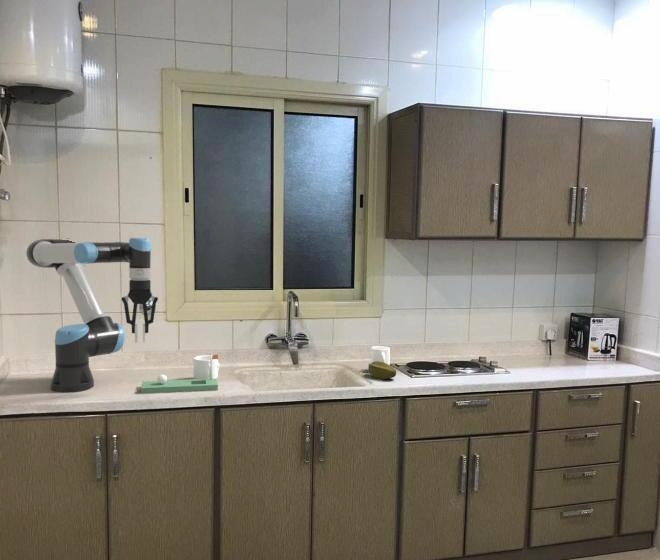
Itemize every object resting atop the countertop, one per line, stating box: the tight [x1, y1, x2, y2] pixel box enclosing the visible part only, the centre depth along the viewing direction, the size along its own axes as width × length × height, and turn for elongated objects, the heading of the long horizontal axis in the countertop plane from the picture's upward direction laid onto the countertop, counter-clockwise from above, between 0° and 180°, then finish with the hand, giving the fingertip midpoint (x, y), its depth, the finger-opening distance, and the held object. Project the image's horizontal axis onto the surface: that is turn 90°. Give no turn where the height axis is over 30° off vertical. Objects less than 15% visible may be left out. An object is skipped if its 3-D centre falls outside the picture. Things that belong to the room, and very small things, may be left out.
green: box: [140, 354, 219, 394], centre depth 229 cm, size 29×10×12 cm, turn 105°
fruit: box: [367, 361, 397, 380], centre depth 254 cm, size 11×12×7 cm
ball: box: [156, 374, 168, 384], centre depth 227 cm, size 4×4×4 cm
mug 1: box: [193, 354, 221, 380], centre depth 242 cm, size 12×10×9 cm
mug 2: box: [370, 345, 391, 366], centre depth 264 cm, size 12×8×10 cm
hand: (140, 341), depth 224 cm, fingers open, 2 cm apart
